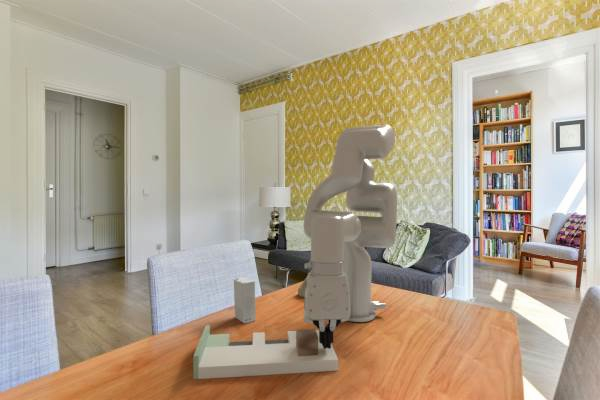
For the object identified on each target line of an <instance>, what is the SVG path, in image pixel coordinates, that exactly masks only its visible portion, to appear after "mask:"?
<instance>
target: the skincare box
mask: <svg viewBox="0 0 600 400" xmlns="http://www.w3.org/2000/svg"><path fill="white" fill-rule="evenodd" d="M255 282H256V281H255V280H251V279H249V278H247V277H244V276H243V277H239V278H235V279H233V293H234V294H233V299H234V318H235V319H237V320H238V321H240V322H241V323H242V324H248V323H251V322H254V321H256V317H257V316H256V287H255V284H256V283H255Z"/></svg>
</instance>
